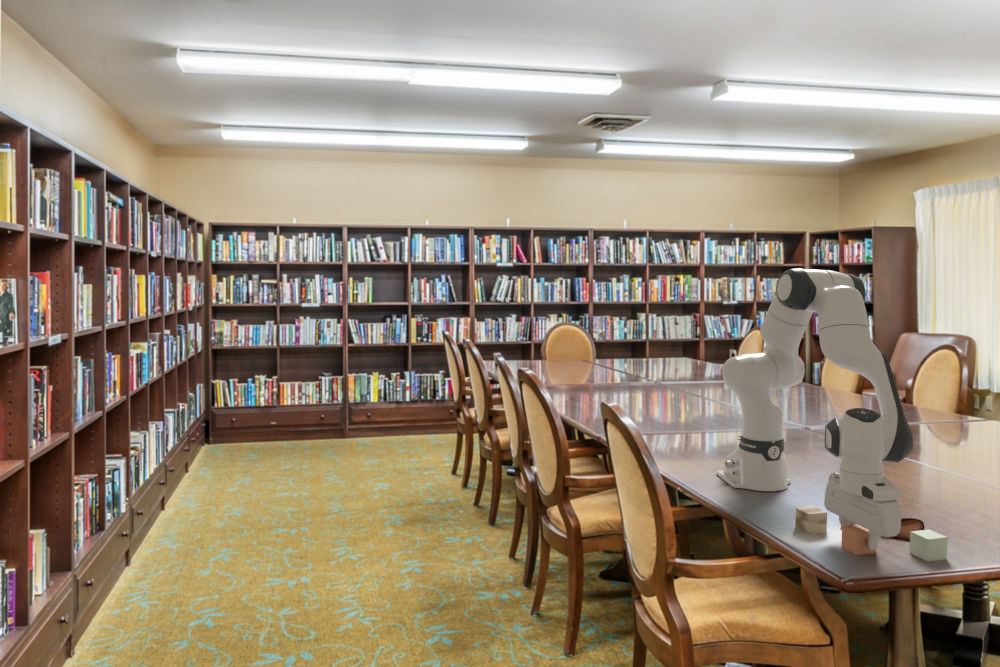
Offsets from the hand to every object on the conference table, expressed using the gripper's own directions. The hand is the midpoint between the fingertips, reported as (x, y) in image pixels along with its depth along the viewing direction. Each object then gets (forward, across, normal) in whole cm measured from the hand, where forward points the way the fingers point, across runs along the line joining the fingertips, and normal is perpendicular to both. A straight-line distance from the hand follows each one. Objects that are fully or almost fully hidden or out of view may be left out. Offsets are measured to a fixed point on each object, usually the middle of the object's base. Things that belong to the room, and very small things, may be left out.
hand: (859, 542), depth 166 cm
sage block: (+2, +7, +12) cm, 14 cm away
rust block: (+2, 0, 0) cm, 2 cm away
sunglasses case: (+2, -9, +14) cm, 16 cm away
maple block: (+2, -14, -2) cm, 14 cm away
